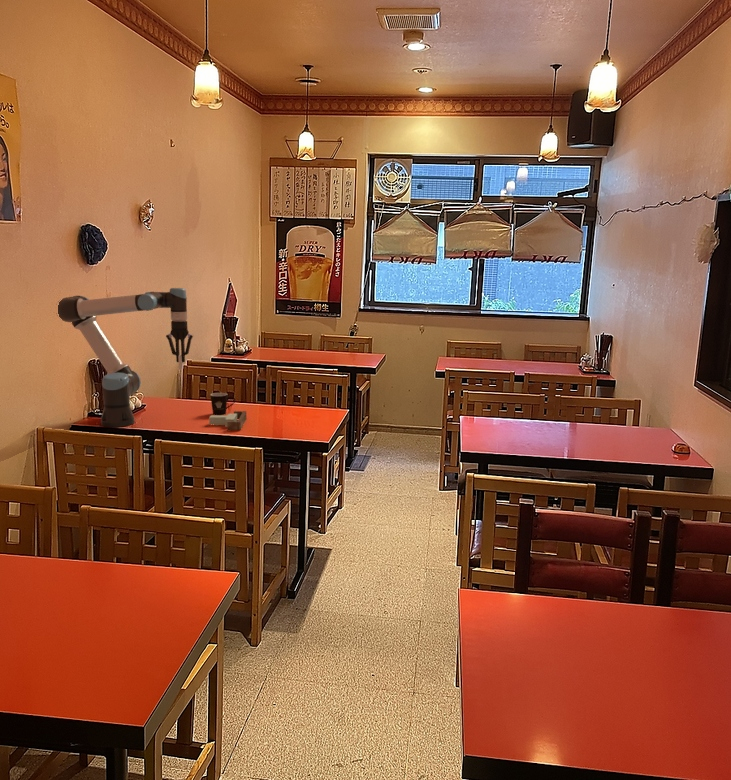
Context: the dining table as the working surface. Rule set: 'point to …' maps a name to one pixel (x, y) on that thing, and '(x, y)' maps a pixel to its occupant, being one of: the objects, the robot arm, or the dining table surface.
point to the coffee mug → (220, 403)
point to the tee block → (222, 419)
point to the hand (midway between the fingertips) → (181, 368)
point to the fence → (237, 424)
